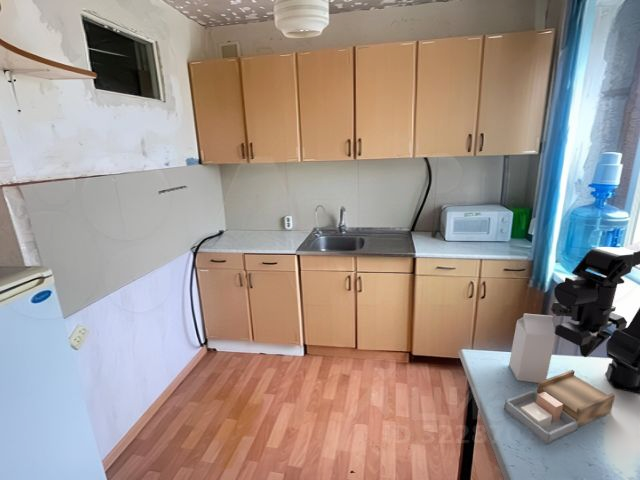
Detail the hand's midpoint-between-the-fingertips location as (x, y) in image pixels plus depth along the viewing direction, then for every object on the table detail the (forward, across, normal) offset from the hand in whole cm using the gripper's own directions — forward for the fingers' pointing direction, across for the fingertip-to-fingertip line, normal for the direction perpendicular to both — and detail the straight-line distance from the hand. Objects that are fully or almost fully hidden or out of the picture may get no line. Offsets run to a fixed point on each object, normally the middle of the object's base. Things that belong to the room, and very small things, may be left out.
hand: (584, 355), depth 85 cm
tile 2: (+9, +13, +2) cm, 16 cm away
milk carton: (+12, +5, -10) cm, 16 cm away
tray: (+11, +17, +2) cm, 21 cm away
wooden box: (+12, +5, +2) cm, 13 cm away
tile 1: (+8, +19, +2) cm, 21 cm away
